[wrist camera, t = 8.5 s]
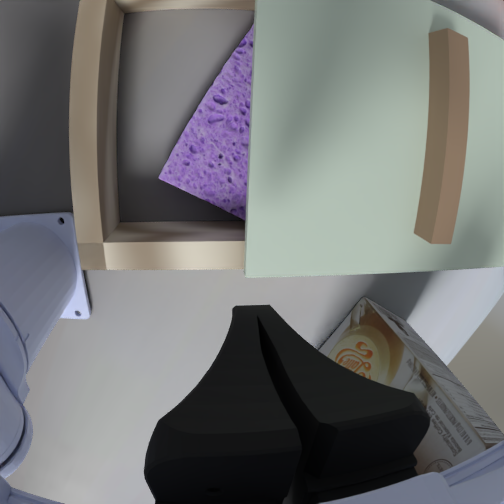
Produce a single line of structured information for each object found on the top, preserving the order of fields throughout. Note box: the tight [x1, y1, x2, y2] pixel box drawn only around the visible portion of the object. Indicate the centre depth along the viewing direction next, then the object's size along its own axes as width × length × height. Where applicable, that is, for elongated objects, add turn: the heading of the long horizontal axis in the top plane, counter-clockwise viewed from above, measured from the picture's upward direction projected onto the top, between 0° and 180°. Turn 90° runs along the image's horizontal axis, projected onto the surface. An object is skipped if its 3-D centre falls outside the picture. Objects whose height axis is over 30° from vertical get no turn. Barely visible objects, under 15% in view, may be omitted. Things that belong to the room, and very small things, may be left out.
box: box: [69, 0, 255, 270], centre depth 17 cm, size 21×17×4 cm
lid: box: [244, 0, 504, 278], centre depth 15 cm, size 21×17×3 cm
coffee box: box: [319, 297, 504, 475], centre depth 19 cm, size 9×6×16 cm
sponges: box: [158, 24, 254, 221], centre depth 17 cm, size 7×13×2 cm, turn 149°
